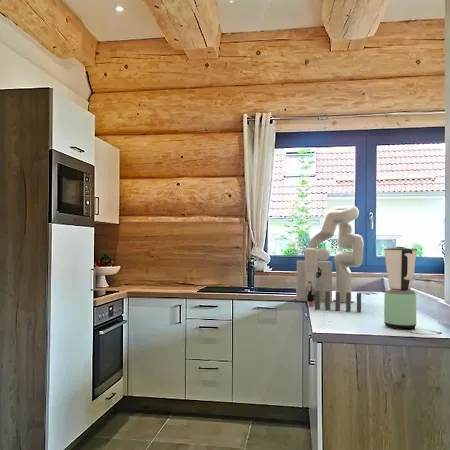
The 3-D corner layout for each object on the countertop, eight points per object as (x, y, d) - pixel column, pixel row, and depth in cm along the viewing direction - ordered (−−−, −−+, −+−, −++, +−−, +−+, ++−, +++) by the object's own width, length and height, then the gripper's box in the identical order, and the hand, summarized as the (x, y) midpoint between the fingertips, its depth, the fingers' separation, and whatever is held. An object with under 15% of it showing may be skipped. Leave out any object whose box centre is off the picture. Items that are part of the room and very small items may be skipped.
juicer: (376, 324, 205) (377, 246, 207) (405, 324, 207) (405, 247, 208) (396, 332, 187) (397, 246, 188) (427, 332, 188) (427, 247, 189)
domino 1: (309, 305, 267) (310, 288, 267) (313, 305, 266) (313, 288, 266) (308, 306, 262) (308, 288, 262) (312, 306, 261) (312, 288, 262)
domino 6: (357, 311, 246) (357, 292, 246) (361, 311, 245) (361, 292, 246) (356, 312, 241) (356, 293, 242) (360, 312, 241) (360, 293, 241)
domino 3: (326, 309, 252) (326, 290, 252) (330, 309, 251) (330, 291, 251) (325, 310, 247) (325, 291, 247) (328, 310, 246) (329, 291, 247)
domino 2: (316, 308, 253) (316, 290, 254) (319, 308, 253) (320, 290, 253) (314, 309, 249) (315, 291, 249) (318, 309, 248) (318, 291, 248)
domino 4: (336, 309, 250) (336, 291, 250) (340, 309, 249) (340, 291, 249) (335, 310, 245) (335, 292, 245) (339, 311, 244) (339, 292, 245)
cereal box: (330, 300, 292) (330, 261, 293) (331, 301, 284) (332, 261, 285) (296, 299, 294) (296, 260, 295) (296, 300, 286) (297, 261, 287)
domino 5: (346, 310, 248) (347, 291, 248) (350, 310, 247) (350, 292, 248) (346, 311, 243) (346, 292, 243) (349, 311, 242) (350, 292, 243)
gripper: (307, 268, 274) (307, 299, 273) (302, 269, 258) (301, 302, 257) (320, 269, 271) (319, 299, 271) (315, 270, 255) (315, 303, 255)
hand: (311, 300), depth 264 cm, fingers closed on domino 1, 4 cm apart
